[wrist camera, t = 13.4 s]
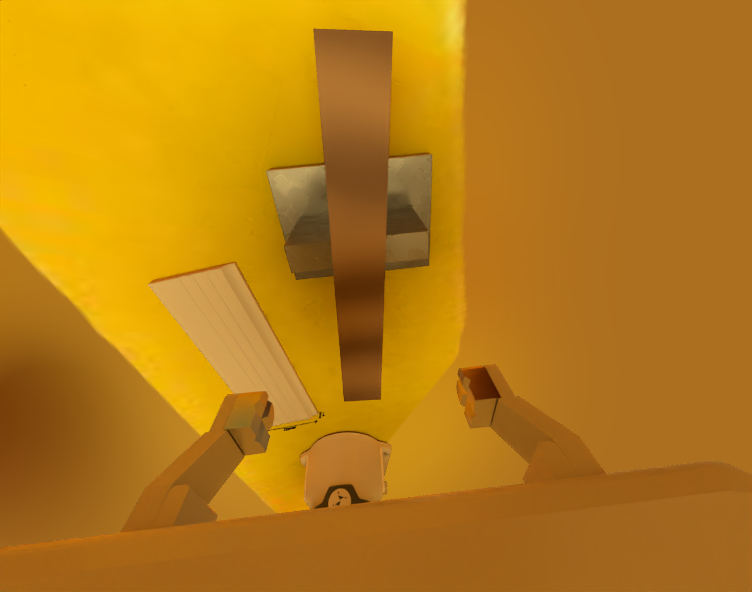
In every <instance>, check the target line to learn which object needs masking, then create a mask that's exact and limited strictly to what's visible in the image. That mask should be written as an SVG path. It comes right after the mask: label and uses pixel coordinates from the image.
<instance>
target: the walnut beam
mask: <svg viewBox="0 0 752 592" xmlns="http://www.w3.org/2000/svg"><path fill="white" fill-rule="evenodd" d="M392 40H393V32H391V31H362V30H334V29H314V41H315V53H316V66H317V78H318V90H319V102H320V114H321V126H322V139H323V151H324V163H325V175H326V187H327V199H328V212H329V224H330V236H331V248H332V260H333V272H334V284H335V297H336V309H337V321H338V333H339V345H340V357H341V370H342V382H343V394H344V401H360V400H378V399H381V372H382V342H383V312H384V282H385V251H386V221H387V191H388V161H389V130H390V100H391V70H392Z"/></svg>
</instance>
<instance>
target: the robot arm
mask: <svg viewBox="0 0 752 592" xmlns="http://www.w3.org/2000/svg"><path fill="white" fill-rule="evenodd" d="M458 376H459V380H458V381H457V394H458V398H459V401H460V403H461V405H463V406H464V407H465V413H464V414H465V417H466V419H467V422H468V424H469V427H470V428H479V427H491V428H492V429H493V430H494V431H495V432H496V433H497V434H498V435H499V436H500V437H501V438H502V439H503V440H504V441H505V442H507V443H508V444H509V445H510V446H511V447H512V448H513V449H514V450H515V451H516V452H517V453H518V454H519V455H520V456H521V457H522V458H523V459H525V460H526V461H527V462H528V463H529V466H528V468H527V470H526V472H525V475H524V477H523V480H524V482H525V483H524V484H515V485H507V486H499V487H491V488H483V489H474V490H466V491H458V492H450V493H442V494H433V495H425V496H417V497H408V498H400V499H393V500H385V501H380V499H381V498H382V496H383V495H385V494H387V483H386V481H384V476H385V472H386V468H387V465H388V461H389V457H390V453H391V445H390V444H387V443H383V442H379V441H377V440H375V439H374V438H372V437H370V436H367V435H364V434H360V433H351V432H346V433H337V434H332V435H329V436H326V437H323V438H321V439H320V440H318V441H317V442H316V443H314V445H313V446H312V447H311V448H310V449H309V450H308V451H306V452H304V453H302V454H301V455H300V462H301V463H302V464H303V465H304V466H305V467H306V476H305V489H304V501H305V502H306V504H307V505H308V506H309V507H310V510H301V511H293V512H285V513H277V514H269V515H261V516H253V517H245V518H236V519H228V520H220V521H216V519H217V514H216V512H215V511H214V510H213V509H212V508H211V507H210V506H209V505H208V504H209V502H210V501H211V500H212V498H213V497H214V496H215V495H216V493H217V492H218V491H219V489H220V488H221V487H222V485H223V484H224V483H225V482H226V480H227V479H228V478H229V476H230V475H231V474H232V472H233V471H234V470H235V469H236V467H237V466H238V465H239V463H240V462H241V461H242V459H243V458H244V455H251V454H258V453H265V452H266V449H267V445H268V441H269V437H270V435H269V434H268V432H267V431H268V430H269V429H270V428H271V427H272V426H273V422H274V406H273V404H272V403H271V402H270V401H268V397H269V396H268V394H267V392H266V391H259V392H248V393H237V394H228V395H227V396H226V397H225V398H224V401H223V403H222V405H221V407H220V409H219V412H218V414H217V416H216V418H215V420H214V422H213V425H212V427H211V429H210V431H209V432H206V433H204V434H203V435H202V436H201V437H200V438H199V439H198V440H197V441H196V442H195V443H194V444H192V446H190V447H189V448H188V449H187V450H186V451H185V452H184V453H183V454H182V455H181V456H179V457H178V458H177V459H176V460H175V461H174V462H173V463H172V464H171V465H170V466H169V467H167V468H166V469H165V470H164V471H163V472H162V473H161V474H160V475H159V476H158V477H157V478H155V479H154V480H153V481H152V482H151V483H150V484H149V485H148V486H147V487H146V488H145V489H144V491H143V493H142V495H141V496H140V498H139V500H138V502H137V503H136V505H135V507H134V509H133V511H132V512H131V514H130V516H129V518H128V519H127V521H126V523H125V525H124V527H123V528H122V530H121V532H120V533H113V534H105V535H97V536H88V537H80V538H73V539H64V540H56V541H48V542H39V543H32V544H22V545H13V546H6V547H1V548H0V592H752V475H751V474H749V473H747V472H745V471H743V470H741V469H739V468H737V467H734V466H732V465H730V464H727V463H724V462H719V461H703V462H695V463H688V464H680V465H671V466H663V467H655V468H647V469H639V470H630V471H622V472H615V473H605V471H604V470H603V469H602V467H601V466H600V464H599V463H598V462H597V460H596V459H595V457H594V456H593V455H592V453H591V452H590V450H589V449H588V448H587V446H586V445H585V443H584V442H583V441H582V439H581V438H580V437H579V436H578V435H576V434H575V433H573V432H572V431H570V430H569V429H567V428H566V427H564V426H563V425H561V424H560V423H558V422H557V421H555V420H554V419H552V418H551V417H549V416H548V415H546V414H545V413H543V412H542V411H540V410H539V409H537V408H536V407H534V406H533V405H531V404H530V403H528V402H527V401H525V400H524V399H522V398H521V397H519V396H516V397H515V395H514V393H513V392H512V390H511V388H510V387H509V385H508V383H507V382H506V380H505V378H504V377H503V375H502V373H501V372H500V370H499V368H498V367H497V366H496V365H495V364H494V365H484V366H474V367H467V368H460V369H459V370H458Z"/></svg>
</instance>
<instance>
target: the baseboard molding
mask: <svg viewBox="0 0 752 592" xmlns="http://www.w3.org/2000/svg"><path fill="white" fill-rule="evenodd" d="M148 285H149V287H150V288H151V289H152V290H153V292H154V293H155V294H156V295H157V297H158V298H159V299H160V300H161V302H162V303H163V304H164V306H165V307H166V308H167V309H168V311H169V312H170V313H171V314H172V316H173V317H174V318H175V319H176V321H177V322H178V323H179V325H180V326H181V327H182V328H183V330H184V331H185V332H186V333H187V335H188V336H189V337H190V338H191V340H192V341H193V342H194V344H195V345H196V346H197V347H198V349H199V350H200V351H201V352H202V354H203V355H204V356H205V357H206V359H207V360H208V361H209V363H210V364H211V365H212V366H213V368H214V369H215V370H216V371H217V373H218V374H219V375H220V376H221V378H222V379H223V380H224V381H225V383H226V384H227V385H228V387H229V388H230V389H231V390H232V392H233V393H234V394H237V393H248V392H259V391H266V392H267V394H268V396H269V397H268V401H270V402H271V403H272V404H273V406H274V422H273V426H275V425H281V424H283V423H290V422H294V421H300V420H307V419H310V418H311V417H312V416H314V415H318V411H317V409H316V407H315V406H314V404H313V402H312V400H311V398H310V397H309V395H308V393H307V391H306V389H305V387H304V386H303V384H302V382H301V380H300V378H299V377H298V375H297V373H296V371H295V369H294V367H293V366H292V364H291V362H290V360H289V358H288V357H287V355H286V353H285V351H284V349H283V348H282V346H281V344H280V342H279V340H278V338H277V337H276V335H275V333H274V331H273V329H272V328H271V326H270V324H269V322H268V320H267V318H266V317H265V315H264V313H263V311H262V309H261V308H260V306H259V304H258V302H257V300H256V298H255V297H254V295H253V293H252V291H251V289H250V288H249V286H248V284H247V282H246V280H245V279H244V277H243V275H242V273H241V271H240V269H239V268H238V266H237V264H236V262H232V263H228V264H223V265H219V266H214V267H210V268H206V269H201V270H197V271H193V272H188V273H184V274H179V275H175V276H171V277H166V278H162V279H158V280H153V281H152V282H150V283H149V284H148ZM319 413H321V412H319ZM322 416H324V413H323V415H322ZM319 418H320V416H319ZM316 422H317V421H316ZM316 422H315V423H316ZM310 423H312V422H310ZM305 424H307V423H305ZM300 425H302V424H300ZM294 426H295V427H291V426H289V427H290V428H291V429H292V428H293V429H294V428H296V425H294ZM290 428H286V427H284V431H285V429H288V430H289V429H290ZM278 429H280V428H278ZM273 430H275V429H273ZM268 431H270V430H268ZM286 431H287V430H286Z"/></svg>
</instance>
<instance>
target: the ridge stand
mask: <svg viewBox="0 0 752 592" xmlns="http://www.w3.org/2000/svg"><path fill="white" fill-rule="evenodd" d="M266 173H267V176H268V180H269V183H270V187H271V191H272V194H273V198H274V201H275V205H276V209H277V212H278V216H279V219H280V223H281V227H282V230H283V234H284V237H285V241H286V243H285V245H284V248H285V252H286V255H287V259H288V262H289V266H290V269H291V273H295V277H296V280H299V279H308V278H318V277H327V276H334V272H333V260H332V248H331V236H330V224H329V212H328V199H327V187H326V175H325V163H322V164H312V165H301V166H291V167H281V168H271V169H269V170H267V171H266ZM431 179H432V154H430V153H422V154H412V155H402V156H392V157H389V161H388V191H387V221H386V251H385V270H393V269H402V268H412V267H421V266H429V248H430V213H431Z"/></svg>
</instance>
